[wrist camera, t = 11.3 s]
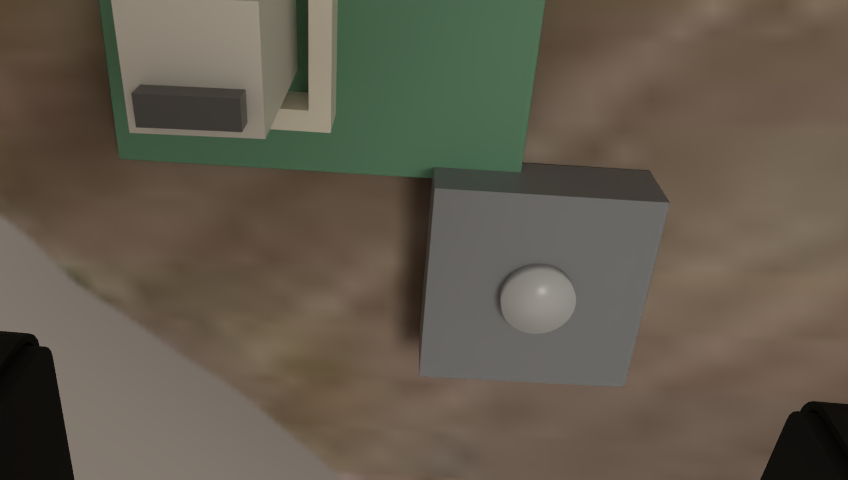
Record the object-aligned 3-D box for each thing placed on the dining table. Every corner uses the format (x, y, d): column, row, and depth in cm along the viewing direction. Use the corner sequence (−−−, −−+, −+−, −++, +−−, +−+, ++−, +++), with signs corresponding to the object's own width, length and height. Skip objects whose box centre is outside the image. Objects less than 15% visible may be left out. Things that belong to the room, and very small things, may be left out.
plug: (179, -48, 27) (99, 0, 20) (294, -43, 27) (252, 8, 21) (190, 64, 29) (120, 143, 22) (297, 69, 29) (260, 149, 23)
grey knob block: (433, 157, 32) (435, 195, 29) (649, 170, 33) (674, 209, 29) (419, 335, 37) (418, 385, 33) (609, 345, 37) (627, 396, 34)
